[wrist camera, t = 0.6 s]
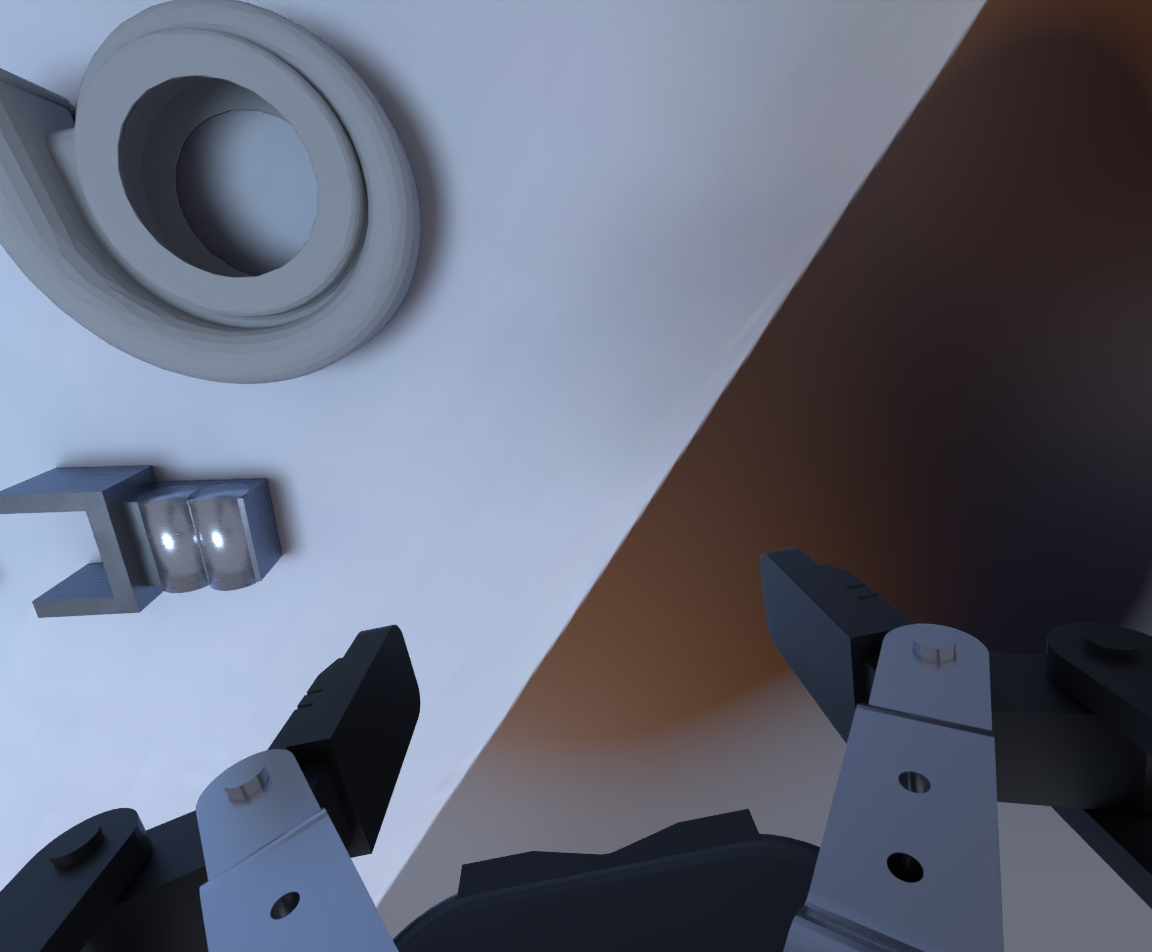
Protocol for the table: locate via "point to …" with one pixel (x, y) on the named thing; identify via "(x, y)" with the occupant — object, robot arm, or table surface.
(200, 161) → the table surface
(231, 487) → the chain ends
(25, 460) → the table surface
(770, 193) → the table surface
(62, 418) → the table surface
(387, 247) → the turbocharger housing
